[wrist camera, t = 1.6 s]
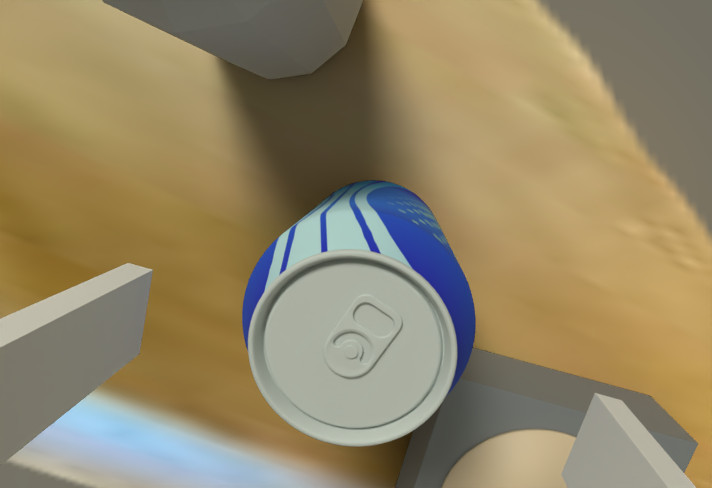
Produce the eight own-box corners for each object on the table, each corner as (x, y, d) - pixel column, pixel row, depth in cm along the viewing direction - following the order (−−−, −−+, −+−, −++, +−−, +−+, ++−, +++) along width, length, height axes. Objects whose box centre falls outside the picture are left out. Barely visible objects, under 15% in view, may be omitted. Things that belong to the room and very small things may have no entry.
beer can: (455, 288, 30) (516, 442, 15) (331, 320, 32) (268, 494, 16) (420, 161, 29) (448, 185, 13) (292, 200, 30) (179, 262, 14)
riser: (387, 511, 34) (385, 577, 29) (442, 339, 31) (451, 378, 26) (575, 564, 34) (607, 640, 29) (650, 395, 31) (701, 447, 26)
